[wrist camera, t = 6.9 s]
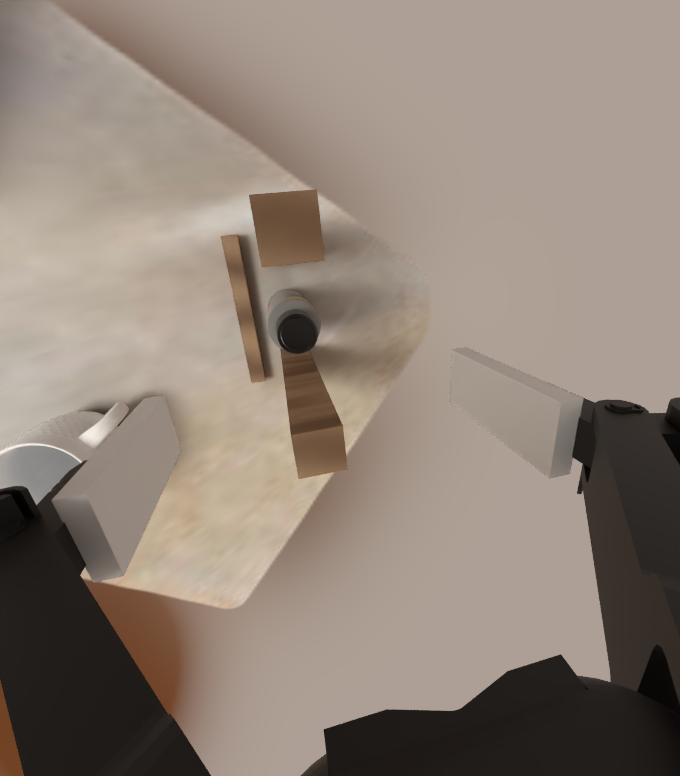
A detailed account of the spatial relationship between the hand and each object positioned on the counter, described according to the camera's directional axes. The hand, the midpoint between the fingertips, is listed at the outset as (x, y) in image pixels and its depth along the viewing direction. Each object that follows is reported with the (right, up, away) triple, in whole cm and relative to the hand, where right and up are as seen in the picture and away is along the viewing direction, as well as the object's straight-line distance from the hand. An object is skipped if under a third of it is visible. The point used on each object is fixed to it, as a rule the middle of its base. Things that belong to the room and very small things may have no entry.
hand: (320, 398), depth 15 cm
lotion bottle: (-7, +12, +34) cm, 37 cm away
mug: (-35, -5, +35) cm, 50 cm away
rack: (-9, +12, +34) cm, 37 cm away
